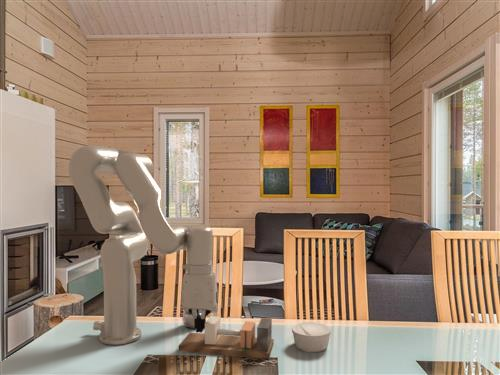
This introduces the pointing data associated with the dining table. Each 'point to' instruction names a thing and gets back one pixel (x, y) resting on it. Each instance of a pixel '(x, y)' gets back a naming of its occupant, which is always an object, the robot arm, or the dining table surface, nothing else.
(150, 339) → the dining table surface
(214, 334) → the plunger
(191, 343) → the base
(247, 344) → the block
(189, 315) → the plastic bottle
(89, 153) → the robot arm
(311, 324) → the ramekin
